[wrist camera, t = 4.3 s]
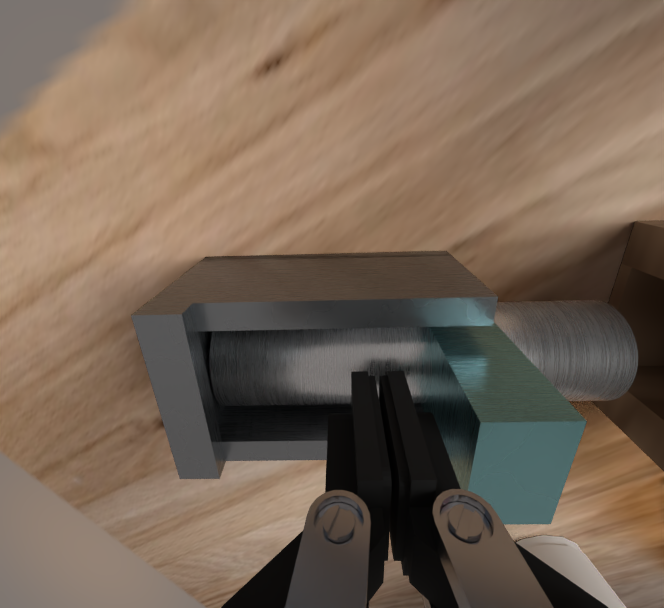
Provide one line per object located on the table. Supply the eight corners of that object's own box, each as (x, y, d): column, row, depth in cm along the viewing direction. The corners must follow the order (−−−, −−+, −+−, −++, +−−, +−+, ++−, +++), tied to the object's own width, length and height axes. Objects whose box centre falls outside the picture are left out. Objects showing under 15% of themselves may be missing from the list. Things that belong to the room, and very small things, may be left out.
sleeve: (432, 375, 18) (476, 476, 12) (228, 378, 18) (179, 479, 13) (446, 250, 15) (510, 307, 10) (205, 256, 16) (131, 315, 10)
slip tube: (554, 362, 16) (725, 527, 9) (246, 368, 17) (176, 530, 10) (575, 285, 15) (804, 411, 8) (234, 293, 15) (140, 419, 8)
